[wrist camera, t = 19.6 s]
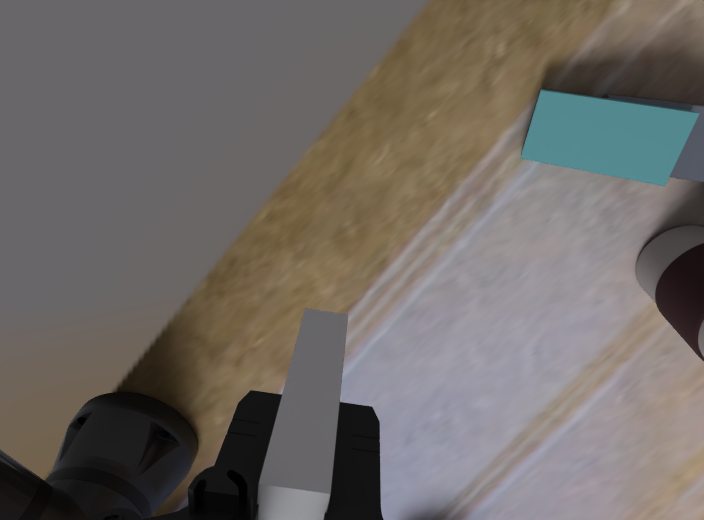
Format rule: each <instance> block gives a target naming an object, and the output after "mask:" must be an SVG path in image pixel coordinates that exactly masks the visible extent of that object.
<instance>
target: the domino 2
mask: <svg viewBox="0 0 704 520" xmlns="http://www.w3.org/2000/svg"><path fill="white" fill-rule="evenodd" d="M605 98H607V99H614V100H621V101H628V102H635V103H642V104H649V105H655V106H662V107H669V108H676V109H683V110H690V111H694V112H697V113H700V114H699V116H698V118H697V120H696V122H695V124H694V126H693V128H692V130H691V132H690V135H689V137H688V139H687V141H686V143H685V145H684V147H683V149H682V151H681V153H680V155H679V157H678V160H677V162H676V164H675V166H674V168H673V170H672V172H671V174H670V176H669V177H674V178H680V179H687V180H693V181H699V182H704V105H699V104H690V103H681V102H672V101H663V100H654V99H645V98H636V97H628V96H619V95H610V94H606V96H605Z"/></svg>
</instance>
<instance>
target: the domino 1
mask: <svg viewBox="0 0 704 520" xmlns="http://www.w3.org/2000/svg"><path fill="white" fill-rule="evenodd" d="M699 114H700V113H697V112H694V111H690V110H683V109H676V108H669V107H662V106H655V105H649V104H642V103H635V102H628V101H621V100H614V99H607V98H601V97H594V96H587V95H580V94H573V93H566V92H560V91H553V90H546V89H541V90H540V93H539V96H538V100H537V103H536V106H535V110H534V113H533V116H532V120H531V123H530V126H529V129H528V133H527V136H526V139H525V143H524V146H523V149H522V153H521V157H520V158H522V159H527V160H532V161H537V162H542V163H547V164H553V165H558V166H563V167H568V168H573V169H579V170H584V171H589V172H594V173H599V174H604V175H610V176H615V177H620V178H625V179H630V180H636V181H641V182H646V183H651V184H656V185H662V186H665V185H666V182H667V180H668V178H669V176H670V174H671V172H672V170H673V168H674V166H675V164H676V162H677V160H678V157H679V155H680V153H681V151H682V149H683V147H684V145H685V143H686V141H687V139H688V137H689V135H690V132H691V130H692V128H693V126H694V124H695V122H696V120H697V118H698V116H699Z"/></svg>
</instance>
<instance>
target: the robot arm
mask: <svg viewBox="0 0 704 520" xmlns="http://www.w3.org/2000/svg"><path fill="white" fill-rule="evenodd" d="M347 322H348V315H347V314H340V313H334V312H327V311H320V310H314V309H307V308H305V312H304V315H303V319H302V323H301V327H300V330H299V334H298V338H297V342H296V345H295V349H294V353H293V357H292V360H291V364H290V368H289V372H288V375H287V379H286V383H285V387H284V390H283V394H282V395H280V394H273V393H267V392H260V391H253V390H251V391H250V392H249V393H248V394H247V395H246V396H245V397H244V398H243V399H242V400H241V401H240V402H239V403H238V405H237V408H236V411H235V413H234V416H233V418H232V422H231V424H230V426H229V429H228V432H227V435H226V437H225V439H224V442H223V444H222V447H221V450H220V452H219V455H218V457H217V460H216V463H215V465H214V466H212V467H210V468H207V469H205V470H204V471H203V472H201V473H200V474H199V475H197V476H196V477H195V478H194V480H193V481H192V483H191V484H190V486H189V487H188V502H189V506H187V507H185V508H183V509H181V510H180V511H177V512H174V513H170V514H166V515H161V516H156V517H152V515H153V513H154V512H155V511H156V510H157V509H158V508H159V506H160V505H161V504H162V503H163V502H164V501H165V500H166V499H167V497H168V496H169V495H170V494H171V493H172V492H173V491H174V490H175V488H176V487H177V486H178V485H179V484H180V483H181V482H182V481H183V479H184V478H185V477H186V476H187V474H188V473H189V471H190V469H191V466H192V464H193V462H194V460H195V457H196V455H197V450H198V445H197V439H196V436H195V434H194V432H193V430H192V428H191V427H190V425H189V424H188V423H187V422H186V420H185V419H184V418H183V417H182V416H180V415H179V414H178V413H177V412H176V411H174V410H173V409H171V408H170V407H168V406H167V405H165V404H163V403H161V402H159V401H157V400H154V399H152V398H149V397H146V396H142V395H138V394H133V393H121V392H118V393H107V394H103V395H100V396H97V397H95V398H93V399H91V400H90V401H88V402H87V403H86V404H85V405H84V406H83V407H82V408H81V409H80V411H79V412H78V413H77V414H76V416H75V417H74V418H73V419H72V421H71V423H70V424H69V426H68V429H67V432H66V434H65V437H64V440H63V442H62V445H61V447H60V450H59V453H58V456H57V458H56V461H55V464H54V466H53V469H52V471H51V473H50V474H49V476H48V477H47V478H46V480H45V481H44V480H42V479H41V478H40V477H39V476H37V475H36V474H34V473H33V472H32V471H30V470H29V469H27V468H26V467H24V466H23V465H21V464H20V463H19V462H17V461H16V460H14V459H13V458H11V457H10V456H9V455H7V454H6V453H4V452H3V451H1V450H0V520H383V517H382V513H381V499H380V442H379V440H380V423H379V420H378V418H377V416H376V414H375V412H374V410H373V407H370V406H363V405H356V404H349V403H343V402H340V393H341V383H342V373H343V362H344V352H345V342H346V332H347Z"/></svg>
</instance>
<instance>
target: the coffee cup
mask: <svg viewBox="0 0 704 520" xmlns="http://www.w3.org/2000/svg"><path fill="white" fill-rule="evenodd" d="M636 277H637V280H638V282H639V284H640V286H641V287H642V288H643V290H644V291H645V292H646V293H647V294H648V295H649V296H650V297H651V299H652V300H653V301H654V302H655V303H656V304H657V307H658V309H659V311H660V312H661V314H662V315H663V316H664V317H665V318H666V320H667V321H668V322H669V323H670V324H671V325H672V326H673V328H674V329H675V330H676V331H677V332H678V333H679V334H680V336H681V337H682V338H683V339H684V340H685V341H686V342H687V344H688V345H689V346H690V347H691V348H692V349H693V350H694V352H695V353H696V354H697V355H698V356H699V357H700V358H701V359H702V360H703V361H704V226H698V225H686V226H681V227H676V228H673V229H670V230H668V231H666V232H664V233H662V234H660V235H659V236H657V237H656V238H654V239H653V240H652V241H651V242H650V243H649V244H648V245H647V246H646V247H645V248H644V249H643V251H642V252H641V254H640V256H639V258H638V261H637V264H636Z"/></svg>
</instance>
